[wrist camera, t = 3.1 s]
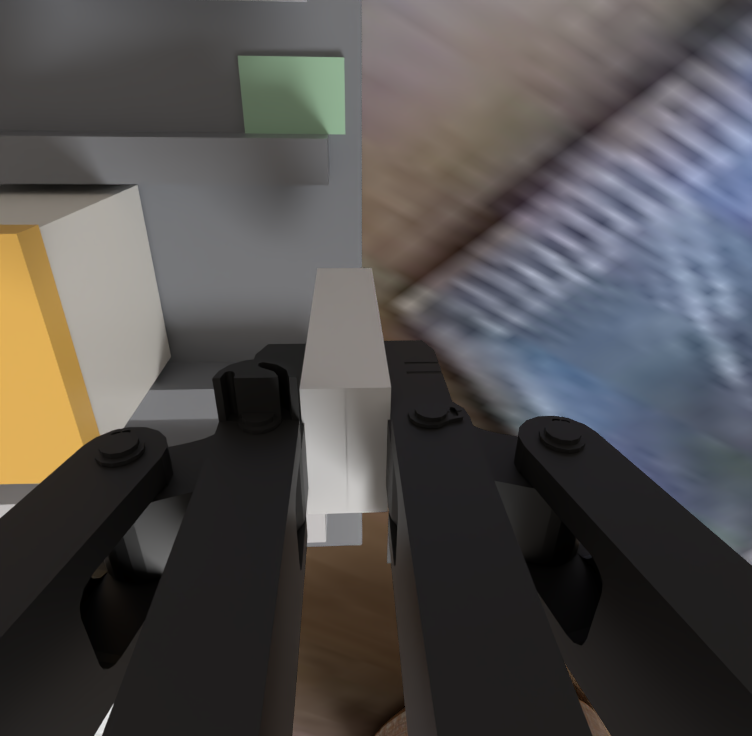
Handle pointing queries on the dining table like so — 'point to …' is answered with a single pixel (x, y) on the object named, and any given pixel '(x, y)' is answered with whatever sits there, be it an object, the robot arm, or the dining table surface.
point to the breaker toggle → (72, 321)
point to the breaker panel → (201, 167)
